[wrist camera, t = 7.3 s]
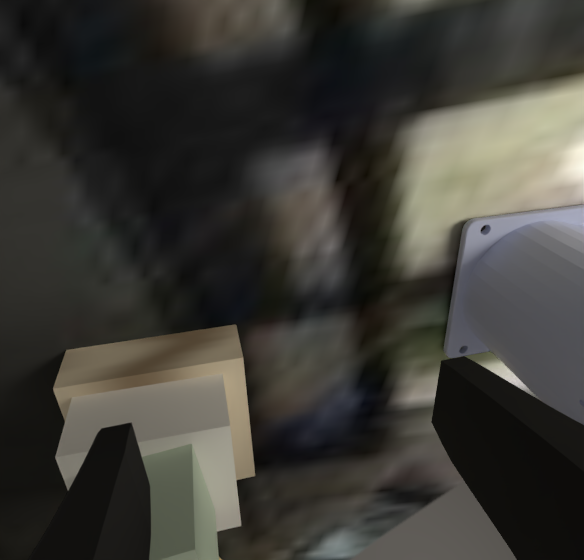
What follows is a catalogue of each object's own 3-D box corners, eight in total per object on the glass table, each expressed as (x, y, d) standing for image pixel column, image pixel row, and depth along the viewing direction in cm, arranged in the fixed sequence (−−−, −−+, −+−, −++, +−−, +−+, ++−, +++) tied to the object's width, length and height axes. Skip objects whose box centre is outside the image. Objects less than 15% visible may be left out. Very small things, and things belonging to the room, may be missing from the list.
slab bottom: (235, 319, 22) (242, 357, 19) (247, 431, 25) (255, 476, 23) (68, 344, 20) (52, 388, 18) (106, 458, 24) (98, 509, 21)
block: (191, 443, 17) (195, 549, 13) (215, 510, 19) (223, 617, 15) (80, 473, 16) (52, 591, 13) (116, 538, 18) (100, 656, 15)
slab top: (222, 373, 19) (230, 425, 17) (233, 469, 22) (241, 526, 19) (71, 397, 18) (55, 457, 15) (104, 494, 21) (94, 559, 18)
